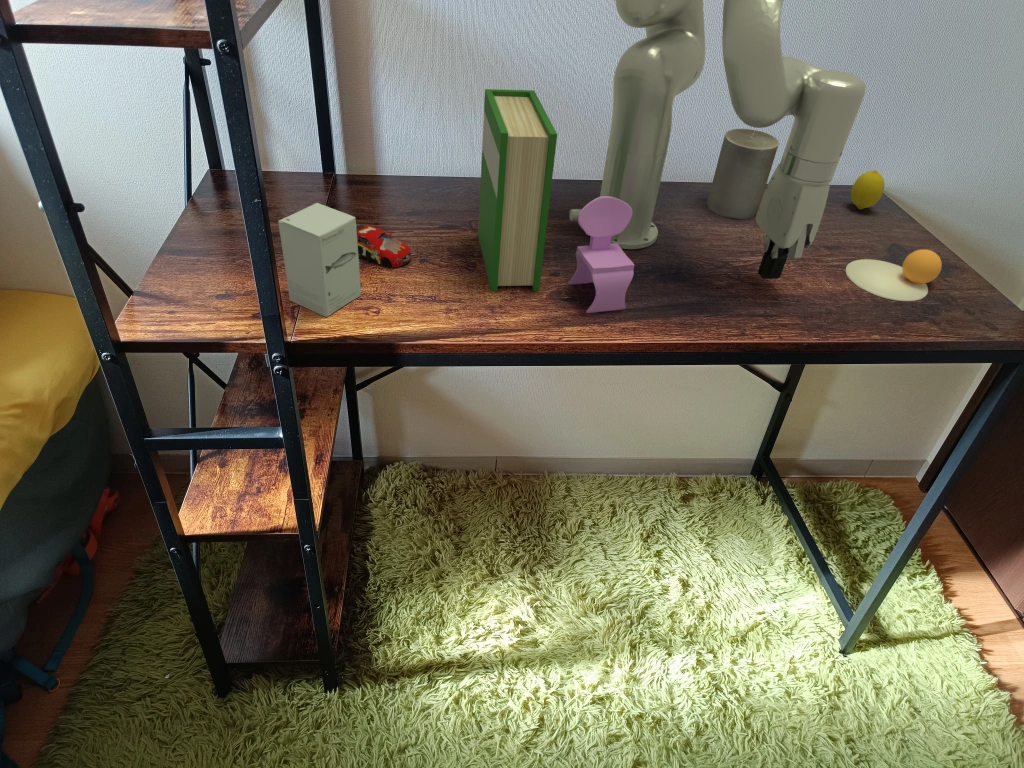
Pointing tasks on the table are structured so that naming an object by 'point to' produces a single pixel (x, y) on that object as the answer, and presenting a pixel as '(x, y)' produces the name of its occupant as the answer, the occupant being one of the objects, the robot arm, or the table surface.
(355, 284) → the supplement box
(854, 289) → the table surface
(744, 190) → the pillar candle
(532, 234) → the hardback book
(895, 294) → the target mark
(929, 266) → the ball
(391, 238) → the race car
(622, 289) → the toy chair
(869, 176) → the lemon
